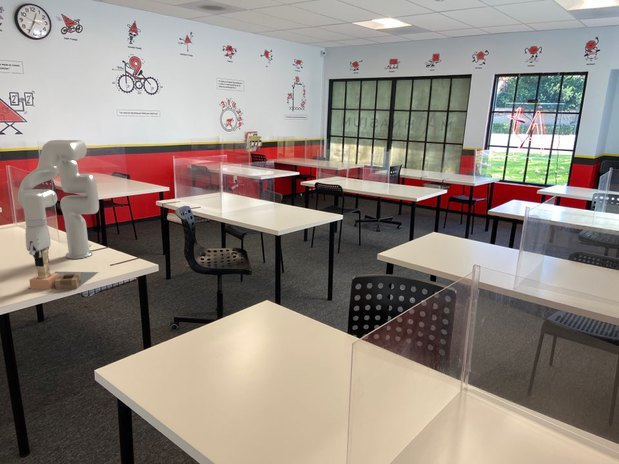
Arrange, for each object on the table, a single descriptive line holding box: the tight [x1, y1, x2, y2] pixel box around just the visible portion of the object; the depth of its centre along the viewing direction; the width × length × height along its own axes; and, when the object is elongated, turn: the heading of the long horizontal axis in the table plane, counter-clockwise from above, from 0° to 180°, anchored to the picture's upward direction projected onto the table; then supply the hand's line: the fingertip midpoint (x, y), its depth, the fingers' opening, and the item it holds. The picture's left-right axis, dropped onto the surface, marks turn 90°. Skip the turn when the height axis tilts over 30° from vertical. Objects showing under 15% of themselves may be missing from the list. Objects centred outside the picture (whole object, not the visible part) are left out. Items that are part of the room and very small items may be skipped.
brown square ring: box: [55, 273, 81, 291], centre depth 191 cm, size 8×8×4 cm
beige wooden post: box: [35, 247, 51, 279], centre depth 189 cm, size 3×3×14 cm
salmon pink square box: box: [28, 272, 59, 290], centre depth 191 cm, size 8×8×4 cm
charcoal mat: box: [28, 271, 100, 291], centre depth 198 cm, size 21×20×1 cm
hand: (42, 264), depth 189 cm, fingers closed on beige wooden post, 3 cm apart
